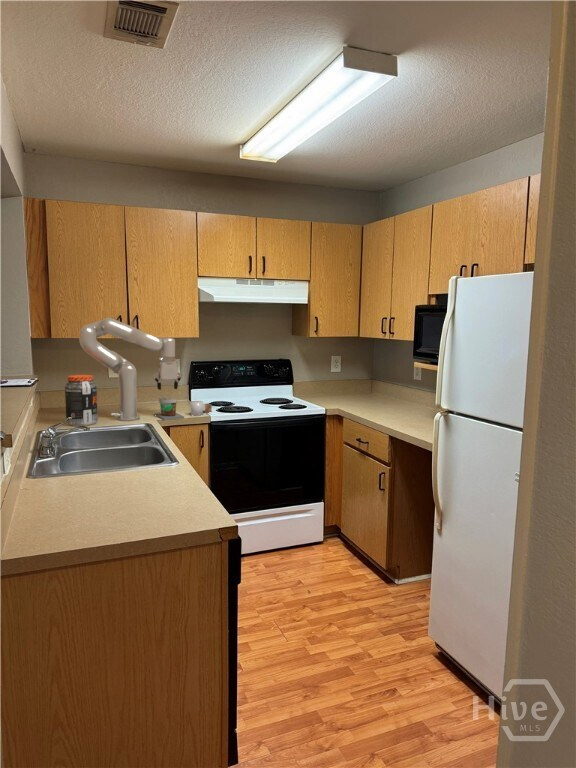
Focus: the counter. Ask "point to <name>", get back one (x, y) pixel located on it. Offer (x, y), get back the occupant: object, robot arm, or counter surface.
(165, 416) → the slate mat
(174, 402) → the food container
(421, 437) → the counter surface
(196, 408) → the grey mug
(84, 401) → the supplement tub
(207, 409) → the walnut block
